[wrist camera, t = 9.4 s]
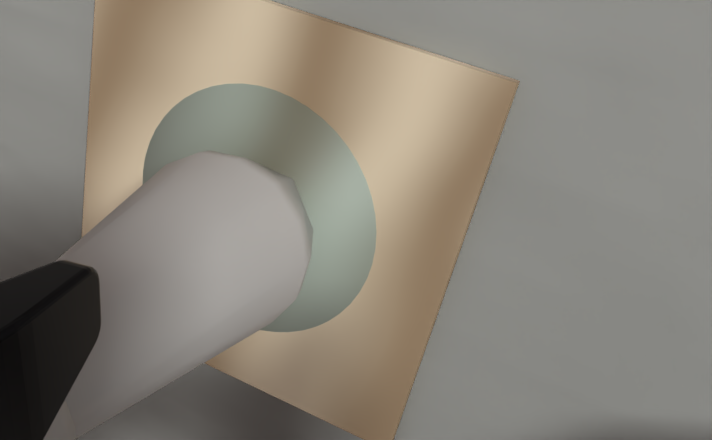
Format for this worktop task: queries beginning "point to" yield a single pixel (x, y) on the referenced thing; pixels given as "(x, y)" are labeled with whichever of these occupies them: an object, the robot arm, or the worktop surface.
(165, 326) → the salt shaker
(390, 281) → the board
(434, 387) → the worktop surface
